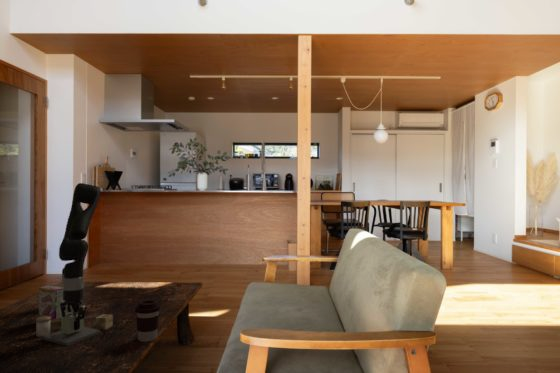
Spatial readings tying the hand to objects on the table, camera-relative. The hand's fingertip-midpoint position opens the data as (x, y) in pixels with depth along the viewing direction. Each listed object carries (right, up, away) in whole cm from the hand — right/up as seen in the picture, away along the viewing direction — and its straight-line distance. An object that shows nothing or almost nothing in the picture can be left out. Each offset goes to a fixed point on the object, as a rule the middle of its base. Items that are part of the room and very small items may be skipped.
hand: (72, 328), depth 154 cm
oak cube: (+8, -4, +10) cm, 14 cm away
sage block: (0, -1, 0) cm, 1 cm away
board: (0, -3, 0) cm, 3 cm away
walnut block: (-11, -4, +8) cm, 15 cm away
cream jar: (-13, -3, +2) cm, 14 cm away
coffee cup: (+32, -4, -2) cm, 33 cm away
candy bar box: (-18, -4, +15) cm, 24 cm away
